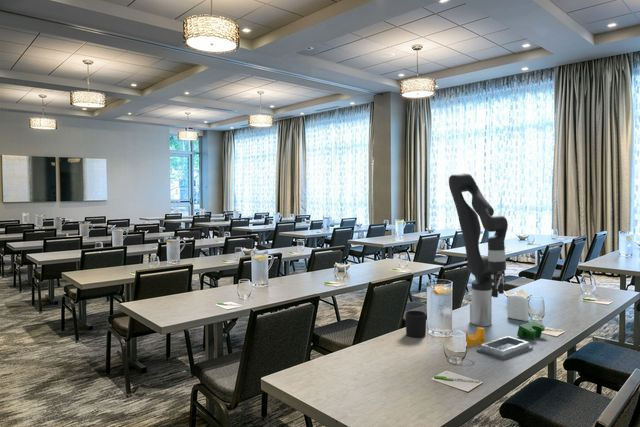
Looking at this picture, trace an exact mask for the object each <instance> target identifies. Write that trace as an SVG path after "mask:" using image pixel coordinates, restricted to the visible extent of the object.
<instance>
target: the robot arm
mask: <svg viewBox="0 0 640 427" xmlns="http://www.w3.org/2000/svg"><path fill="white" fill-rule="evenodd" d="M448 186H449V190H450V193H451V197H452V199H453V202H454V206H455V209H456V213H457V216H458V218H457V219H458V221H459V227H460V230H461V234H462V239H463V242H464V248H465V253H466V254H465V255H466V262H467V263H466V264H467V267H468V270H469V272H470V273H471V274H472V275H473V276H474V277H475V276H476V277H475V279H474V280H473V281H472V283H471V302H470V303H469V323H471V324H472V325H475V326H478V327H489V326H491V325H492V324H493V323H492V318H493V317H492V312H493V311H492V309H493V308H492V303H493V302H492V298H498V297H499V294H502V295H503V294H504V293H505V292H504V291H505V290H504V289H505V288H504V286H505V284H506V273H505V272H506V270H507V261H506V260H507V258H506V251H505V249H506V248H505V239H506V235H507V231H508V225H509V224H508V220H507V218H506V217H505V216H504V215H494V213H495V209H494V208H493V207H492V205H491V204H490V202H488V201H487V199H486V198H485V197H484V195H483V193H482V192H481V190H480V188H479V186H478V184H477V183H476V181H475V179H474V178H473V176H472V175H471V174H470V173H468V172H467V173H466V172H465V173H464V172H462V173H457V174H452V175H450V176H449V178H448ZM467 192H468V193H470V194H471V206H470V205H469V203H468V202H467V201H466V199H465V197H464V195H463V193H467ZM479 219H480V220H479ZM480 222H481V223H480ZM481 225H482V227H483V229H484V230H485V231H486V232H489V233H491V232H492V233H493V232H494V235H493V236H490V237H488V239H487V249H488V250H487V255H481V252H480V248H479V245H480V244H479V242H480V238H481V233H482V232H481V228H482V227H481Z"/></svg>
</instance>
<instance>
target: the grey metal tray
mask: <svg viewBox="0 0 640 427" xmlns="http://www.w3.org/2000/svg"><path fill="white" fill-rule="evenodd" d="M533 350H534V347H533V346H531V345H530V341H526V340H523V339H519V338H516V337H513V336H509V335H506V336H503V337H500V338H497V339H493V340H490V341H487V342H485V343H482V344H480V348H477V350H476V352H478V353H480V354H483V355H486V356H489V357H491V358H495V359H498V360H501V361H506V360H509V359H512V358H513V357H517V356H519V355H522V354H525V353H527V352H530V351H533Z"/></svg>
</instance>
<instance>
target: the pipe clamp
mask: <svg viewBox="0 0 640 427" xmlns="http://www.w3.org/2000/svg"><path fill="white" fill-rule="evenodd" d="M462 331H463V332H465V333H466V342H467V347H466V348H469V347H473V346H477V345H481V344H484V343H486V330H485V327H483V326H478V327H476V331H475V333H471V334H470V335H469V332H468V331H466V330H462Z"/></svg>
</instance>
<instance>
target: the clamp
mask: <svg viewBox="0 0 640 427" xmlns="http://www.w3.org/2000/svg"><path fill="white" fill-rule="evenodd" d="M518 326H519V327H518V330H517V333H516V334H517V335H516V336H517V337H518V338H521V339H524V338H528V339H530V340H532V341H534V340H535V338H536V337H537V338H541V336H542V334H543V332H544V331H545V329H546V326H544V325H543V324H541V323H539V322H537V321H534V320H533V321H530V322H529V321H528V322H526V323H523V324H520V325H518Z"/></svg>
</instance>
